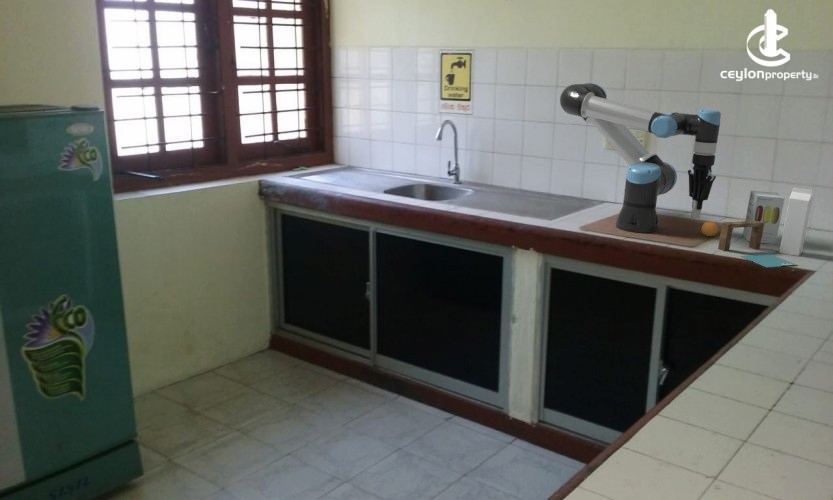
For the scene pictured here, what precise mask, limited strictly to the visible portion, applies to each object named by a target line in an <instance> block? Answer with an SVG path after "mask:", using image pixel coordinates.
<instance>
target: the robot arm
mask: <svg viewBox="0 0 833 500" xmlns="http://www.w3.org/2000/svg"><path fill="white" fill-rule="evenodd" d="M559 98H560V99H559V104H560V106H561V109H562V110H563V111H564V112H565V113H566V114H569V115H572V116H577V117H581V118H582V119H583V120H584V121H585V123H587V124H592V125H593V126H594V127H595V128H596V129H597V130H598V132H600V134H601V135H602V136H603V137H604V138H605V139H606V140H607V142H608V143H609V144H610V145H611V147H613V149H614V150H615V151H616V153H618V154H619V155H620V156H621V158H622V159H623V160H624V161H625V162H626V163H627V165H628V167H627V170H626V174H625V185H624V194H623V202H622V207H621V209H620V211H619V212H618V213H619V214H618V215H617V218H616V220H615V226H616V228H618V229H620V230H623V231H626V232H627V231H628V232H634V233H645V234H646V233H654V232H657V231H658V230H659V224H660V223H659V219H658V214H657V201H658V196H660V195H665V194H667V193H668V192H670V191H671V190H672V189H673V188H674V187H675V185H676V184H677V179H678V174H677V171H676V168H675V167H674V166H673V165H672V164H671V163H669V162H667V161H663V160H662V158H661V157H660V156H659V155H658V154H656V153H650V152H649V151H648V150H647V148H646V147H645V146H644V145H643V143H642V142H640V140H638V138H637V137H636V136H635V135H634V134H633V133H632V132H631V130H630V129H629V128H631V129H636V130H638V131H641V132H646V133H650V134H653V135H654V136H656V137H657V138H660V139H661V138H662V139H668V138H670V137H675V136H680V135H682V136H691V137H693V136H694V137H695V139H694V144H693V152H694V153H693V154H692V160H691V161H692V162H691V163H692V164H693V166H692V169H688V170H687V174H688V193H689V194H688V196H689V197H690V198H691V199H692V202H691V203H692V205H691V208H692V209H691V210H692V211H691V215H690V217H691V218H692V219H700V218H701V213H702V209H703V204H704V201H707V200H709V197H710V193H711V190H712V187H713V183H714V181H715V180H716V175H713V173H712V172H713V171H712V166H714V165H715V160H716V155H715V154H716V153H717V147H718V139H719V133H720V126H721V114H722V113H721V112H720V111H719V110H716V109H700V110H699V111H698V114H693V113H692V114H690V113H681V112H667V113H662V112H659V111H658V112H657V111H653V110H650V109H647V108H642V107H639V106H638V107H637V106H634V105H631V104H626V103H623V102H619V101H615V100H612V99H608V98H607V92H606V91H605V89H604V88H603V87H602V86H601V85H598V84H596V83H593V82H586V83H578V84H576V83H575V84H570V85H568V86H567V87H565V88H564V90H562V92H561V94H560V97H559Z"/></svg>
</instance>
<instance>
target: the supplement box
mask: <svg viewBox="0 0 833 500" xmlns="http://www.w3.org/2000/svg"><path fill="white" fill-rule="evenodd" d="M747 204H748V205H747V210H746V216H745V221H760V222H763V223H764V228H763V233H762V239H761V244H769V245H776V244H777V239H778V234H779V229H780V224H781V220H782V219H781V218H782V214H783V209H784V204H785V197H784V196H783V195H781V194H780V193H778V192H772V191H771V192H769V191H758V190H757V191H756V190H750V194H749V199H748V203H747ZM751 231H752V227H743V231H742V236H743V237H744V239H745V240H747V242H748V243H749V242H750V237H751Z"/></svg>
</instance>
